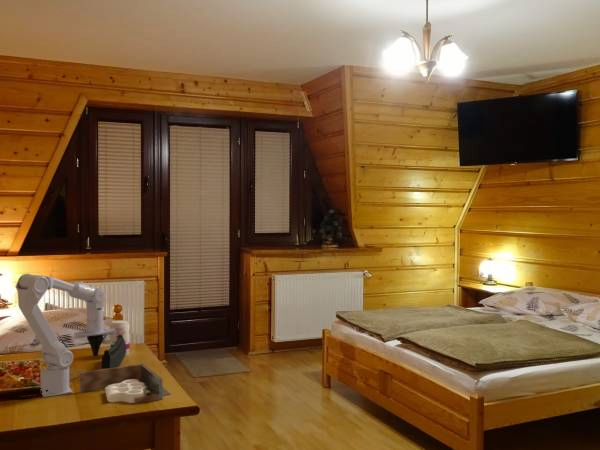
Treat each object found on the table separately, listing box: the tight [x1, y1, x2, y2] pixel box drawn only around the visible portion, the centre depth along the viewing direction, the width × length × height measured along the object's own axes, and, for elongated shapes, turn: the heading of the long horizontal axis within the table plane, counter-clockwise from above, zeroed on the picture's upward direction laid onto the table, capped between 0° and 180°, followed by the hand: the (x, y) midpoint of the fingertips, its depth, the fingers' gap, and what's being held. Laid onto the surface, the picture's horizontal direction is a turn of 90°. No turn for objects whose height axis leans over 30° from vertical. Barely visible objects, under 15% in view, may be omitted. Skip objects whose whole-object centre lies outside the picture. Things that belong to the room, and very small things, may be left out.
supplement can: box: [109, 319, 131, 358], centre depth 260 cm, size 8×8×15 cm
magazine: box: [100, 335, 126, 370], centre depth 238 cm, size 17×3×30 cm
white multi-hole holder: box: [104, 379, 151, 404], centre depth 205 cm, size 3×18×15 cm
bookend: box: [141, 363, 172, 401], centre depth 211 cm, size 5×23×7 cm, turn 31°
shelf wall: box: [79, 363, 159, 405], centre depth 204 cm, size 23×23×7 cm
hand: (95, 355), depth 220 cm, fingers closed
